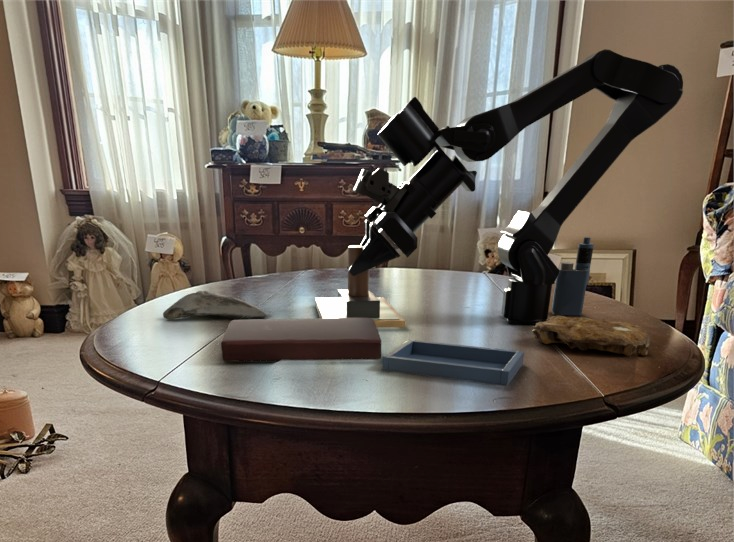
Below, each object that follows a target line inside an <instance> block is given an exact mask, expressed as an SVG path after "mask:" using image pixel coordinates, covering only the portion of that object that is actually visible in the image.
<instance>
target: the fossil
mask: <svg viewBox="0 0 734 542" xmlns="http://www.w3.org/2000/svg"><path fill="white" fill-rule="evenodd" d="M216 315H225V316H226V315H231V316H240V317H241V316H243V317H254V318H266V317H267V314H266V313H265V312H264V311H263V310H262V309H260V308H258V307H257V306H255V305H252V304H251V303H249V302H247V301H244V300H242V299H241V298H240V299H239V298H236V297H233V296H228V295H222V294H218V293H215V292H211V291H208V290H198V291H196V292H191V293H187V294H186V295H184V296H182V297H181V298H179V299H178V300H177V301H175V302H174V303H173V304H172V305H170V306H169V307H168V308H167V309H166V310H164V311H163V313H162V318H163V319H165V320H177V319H181V318H182V319H183V318H188V317H207V316H216Z"/></svg>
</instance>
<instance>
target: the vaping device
mask: <svg viewBox="0 0 734 542" xmlns="http://www.w3.org/2000/svg"><path fill="white" fill-rule="evenodd" d="M591 239H592V238H591V237H583V241H582V242H580V243H578V246H577V252H576V259H575V263H574V262H569V261H568V262H567V261H566V262H565V261H563V262H562V261H561V262H560V267H559V268H558V269H559V271H560V272H559V274H558V276H557V278H556V280H555V283H554V290H553V296H552V304H551V311H552V315H553V316H565V317H568V316H569V317H576V316H577V317H578V316H583V315H582V313H583V308H584V302H585V296H586V290H587V285H588V284H589V280H590V273H591V265H592V258H593V252H594V248H595V247H594V246H595V244H594V243H591ZM574 264H575V265H574Z"/></svg>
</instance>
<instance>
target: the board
mask: <svg viewBox="0 0 734 542" xmlns="http://www.w3.org/2000/svg"><path fill="white" fill-rule="evenodd" d="M376 297H377V296H376ZM314 298H315V299H314V304H315V305H314V306H315V309H316V311H317V314H318V317H319V318H346V316H345V315H344V313H343V312H342V310H341V309H340V307H339V306H338V297H314ZM377 298H378V299H379V300H380V317H379V318H373V320H374V322H375V324H376V327H377V329H379V328H406V320H405V318H403V316H402V315H401V314H399V312H398V311H397V310H396V309H395V308H394V307H393V306H392V305H391V304H390V303H389V301H388V300H387V299H386V298H385V297H383V296H381V297H380V296H378V297H377Z"/></svg>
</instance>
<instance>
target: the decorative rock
mask: <svg viewBox="0 0 734 542" xmlns="http://www.w3.org/2000/svg"><path fill="white" fill-rule="evenodd" d="M531 332H532V333H533V335H534V336H533V337H534V338H535V339H536V340H538V341H539V342H540V343H541V344H545V345H549V344H554V343H555V344H565V345H567V346H568V347H569V348H570V349H574V348H577V349H579V350H581V351H587V350H588V349H589V350H598V351H601V352H610V353H615V354H622V355H624V356H626V357H631V356H633V355H636V354H637V355H640V356H648V349H649V347H650V345H651V339H650V337H649V335H648V332H647V331H646V330H644V329H643V327H642V326H641V325H636V324H635V325H633V324H632V323H629V322H624V321H609V320H605V319H601V320H600V319H593V318H589V317H586V316H585V317H578V316H577V317H576V316H571V317H568V316H559V315H553V316H551V315H550V316H548V319H547V320H546V322H538V323H536V324H535V325H534V328H533V329H532V330H531Z"/></svg>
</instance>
